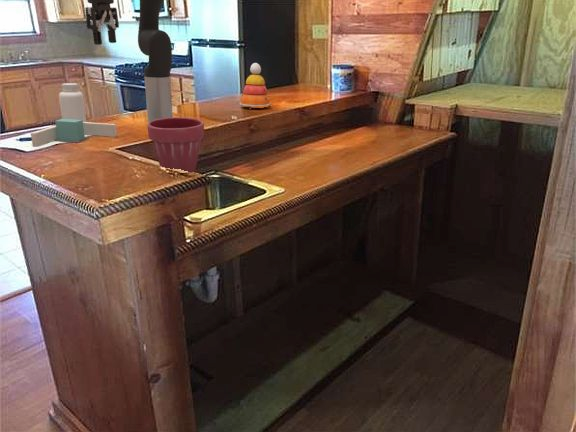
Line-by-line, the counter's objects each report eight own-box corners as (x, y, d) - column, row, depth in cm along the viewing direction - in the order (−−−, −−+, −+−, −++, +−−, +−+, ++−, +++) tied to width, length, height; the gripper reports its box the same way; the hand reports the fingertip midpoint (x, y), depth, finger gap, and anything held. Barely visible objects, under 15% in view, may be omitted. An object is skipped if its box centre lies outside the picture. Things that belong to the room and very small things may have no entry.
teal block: (57, 139, 161) (55, 120, 159) (65, 136, 165) (62, 118, 162) (77, 141, 160) (75, 122, 157) (84, 138, 163) (82, 119, 161)
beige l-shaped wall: (71, 132, 171) (69, 120, 170) (117, 135, 169) (115, 124, 167) (32, 146, 153) (30, 133, 152) (83, 150, 150) (81, 137, 149)
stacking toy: (265, 111, 219) (265, 65, 212) (234, 109, 223) (234, 63, 216) (274, 106, 232) (275, 62, 225) (245, 104, 236) (245, 61, 228)
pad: (65, 136, 166) (65, 135, 166) (89, 138, 164) (88, 137, 164) (53, 140, 160) (53, 140, 160) (77, 142, 159) (77, 142, 159)
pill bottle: (86, 123, 185) (81, 82, 180) (87, 128, 178) (81, 85, 173) (63, 124, 182) (57, 82, 177) (62, 129, 176) (56, 85, 170)
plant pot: (163, 181, 125) (160, 130, 120) (142, 167, 136) (138, 120, 131) (214, 172, 133) (213, 124, 128) (191, 160, 144) (189, 115, 139)
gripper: (100, -13, 157) (106, 42, 163) (73, -15, 144) (81, 44, 150) (122, -13, 155) (127, 42, 161) (97, -15, 142) (104, 45, 148)
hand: (105, 43), depth 156 cm, fingers open, 8 cm apart
